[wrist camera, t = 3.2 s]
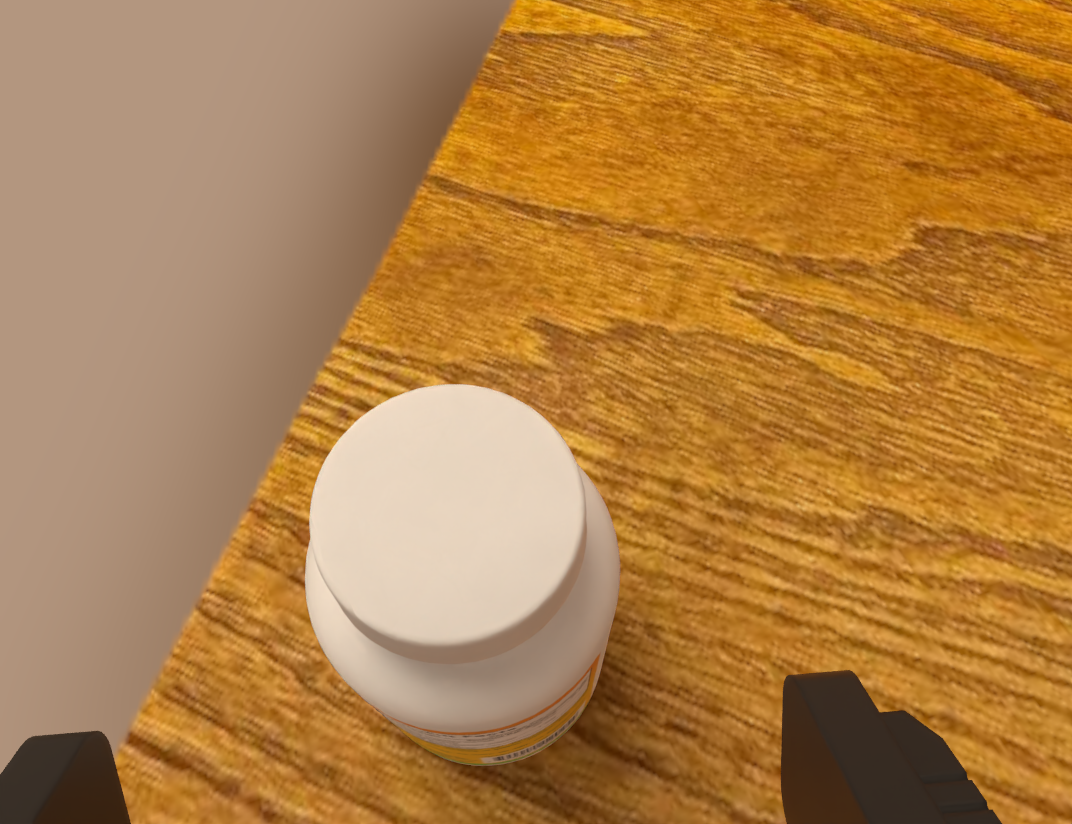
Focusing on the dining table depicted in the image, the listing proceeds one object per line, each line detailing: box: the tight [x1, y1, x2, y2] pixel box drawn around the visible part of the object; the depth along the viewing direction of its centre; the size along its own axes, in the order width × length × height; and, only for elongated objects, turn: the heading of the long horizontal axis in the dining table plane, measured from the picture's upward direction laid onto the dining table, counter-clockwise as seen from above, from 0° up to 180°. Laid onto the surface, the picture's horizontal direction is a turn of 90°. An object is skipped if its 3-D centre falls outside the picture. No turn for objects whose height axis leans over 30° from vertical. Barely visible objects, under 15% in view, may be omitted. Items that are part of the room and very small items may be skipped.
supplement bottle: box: [305, 384, 620, 766], centre depth 18 cm, size 5×5×10 cm
